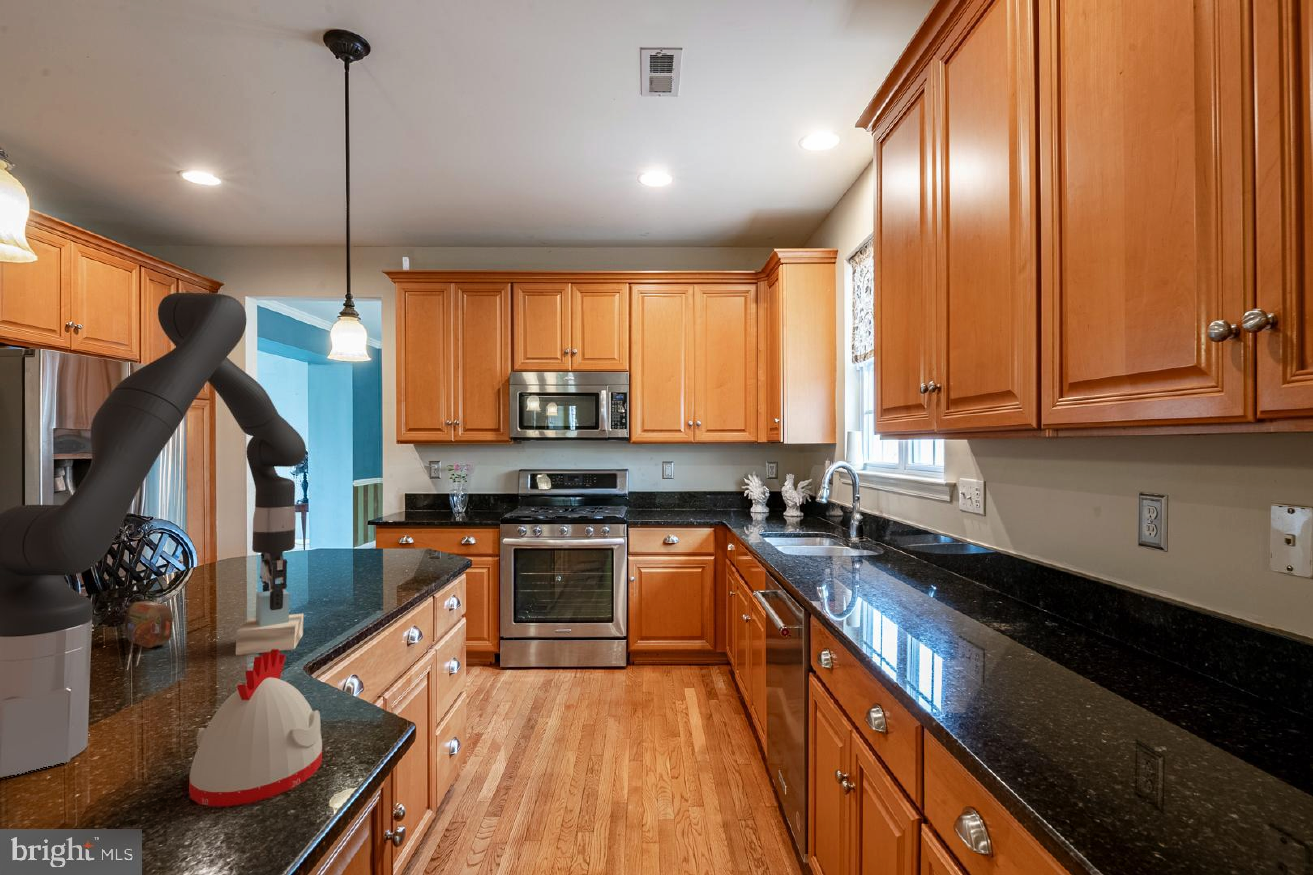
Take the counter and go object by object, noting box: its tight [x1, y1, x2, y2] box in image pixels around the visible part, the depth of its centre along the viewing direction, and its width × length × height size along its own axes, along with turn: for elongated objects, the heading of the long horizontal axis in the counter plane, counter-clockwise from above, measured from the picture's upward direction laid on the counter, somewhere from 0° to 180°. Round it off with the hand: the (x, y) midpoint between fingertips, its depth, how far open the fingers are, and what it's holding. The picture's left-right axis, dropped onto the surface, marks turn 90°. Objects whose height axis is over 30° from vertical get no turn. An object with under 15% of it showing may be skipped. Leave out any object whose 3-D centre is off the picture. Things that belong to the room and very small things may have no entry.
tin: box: [124, 600, 174, 649], centre depth 122 cm, size 15×3×8 cm, turn 62°
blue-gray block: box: [255, 589, 291, 627], centre depth 122 cm, size 5×5×6 cm
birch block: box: [235, 613, 304, 656], centre depth 122 cm, size 10×10×5 cm
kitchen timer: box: [188, 649, 323, 807], centre depth 74 cm, size 14×14×15 cm
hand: (272, 605), depth 122 cm, fingers open, 8 cm apart
